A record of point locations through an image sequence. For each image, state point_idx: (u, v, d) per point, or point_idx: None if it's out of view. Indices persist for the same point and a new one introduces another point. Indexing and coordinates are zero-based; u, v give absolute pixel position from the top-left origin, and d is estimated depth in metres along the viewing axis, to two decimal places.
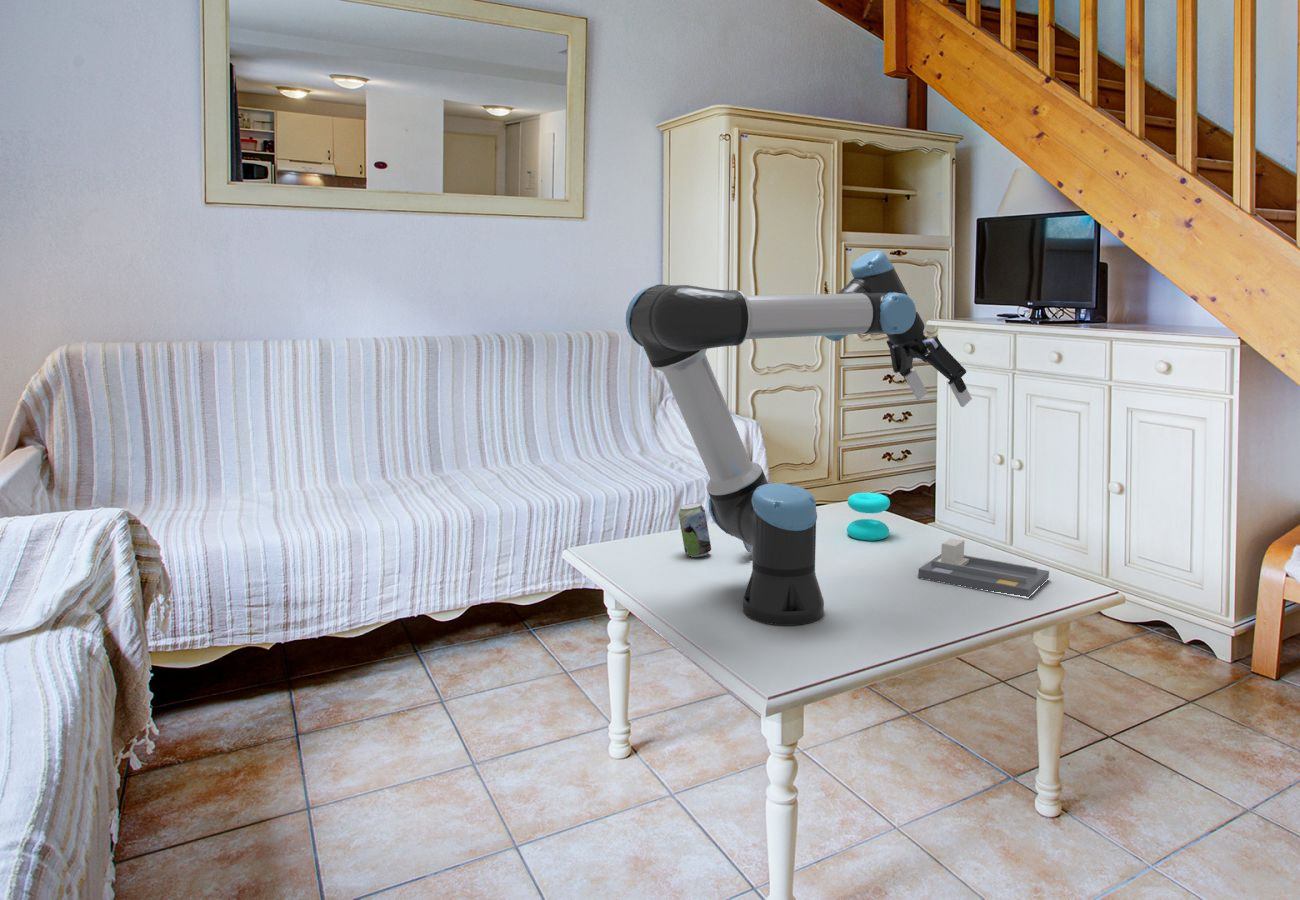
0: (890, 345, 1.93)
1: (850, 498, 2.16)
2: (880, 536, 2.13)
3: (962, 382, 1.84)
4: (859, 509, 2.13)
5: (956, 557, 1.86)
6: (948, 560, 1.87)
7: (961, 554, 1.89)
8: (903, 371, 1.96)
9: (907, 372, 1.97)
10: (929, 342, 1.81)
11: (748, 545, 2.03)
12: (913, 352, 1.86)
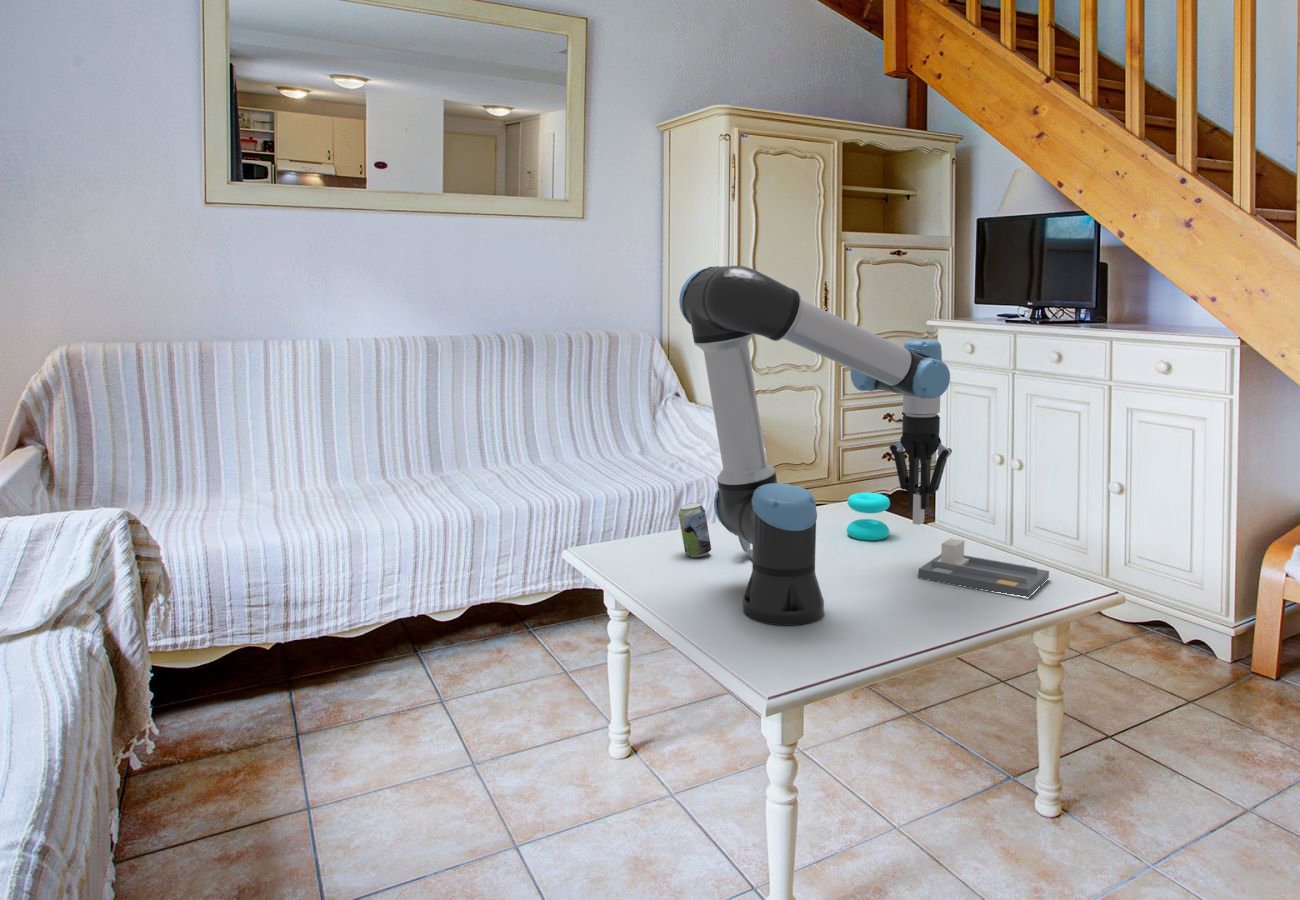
0: (894, 450, 1.92)
1: (850, 498, 2.16)
2: (880, 536, 2.13)
3: (928, 499, 1.91)
4: (859, 509, 2.13)
5: (956, 557, 1.86)
6: (948, 560, 1.87)
7: (961, 554, 1.89)
8: (912, 485, 1.91)
9: (915, 491, 1.92)
10: (948, 451, 1.85)
11: (745, 545, 2.03)
12: (922, 448, 1.87)
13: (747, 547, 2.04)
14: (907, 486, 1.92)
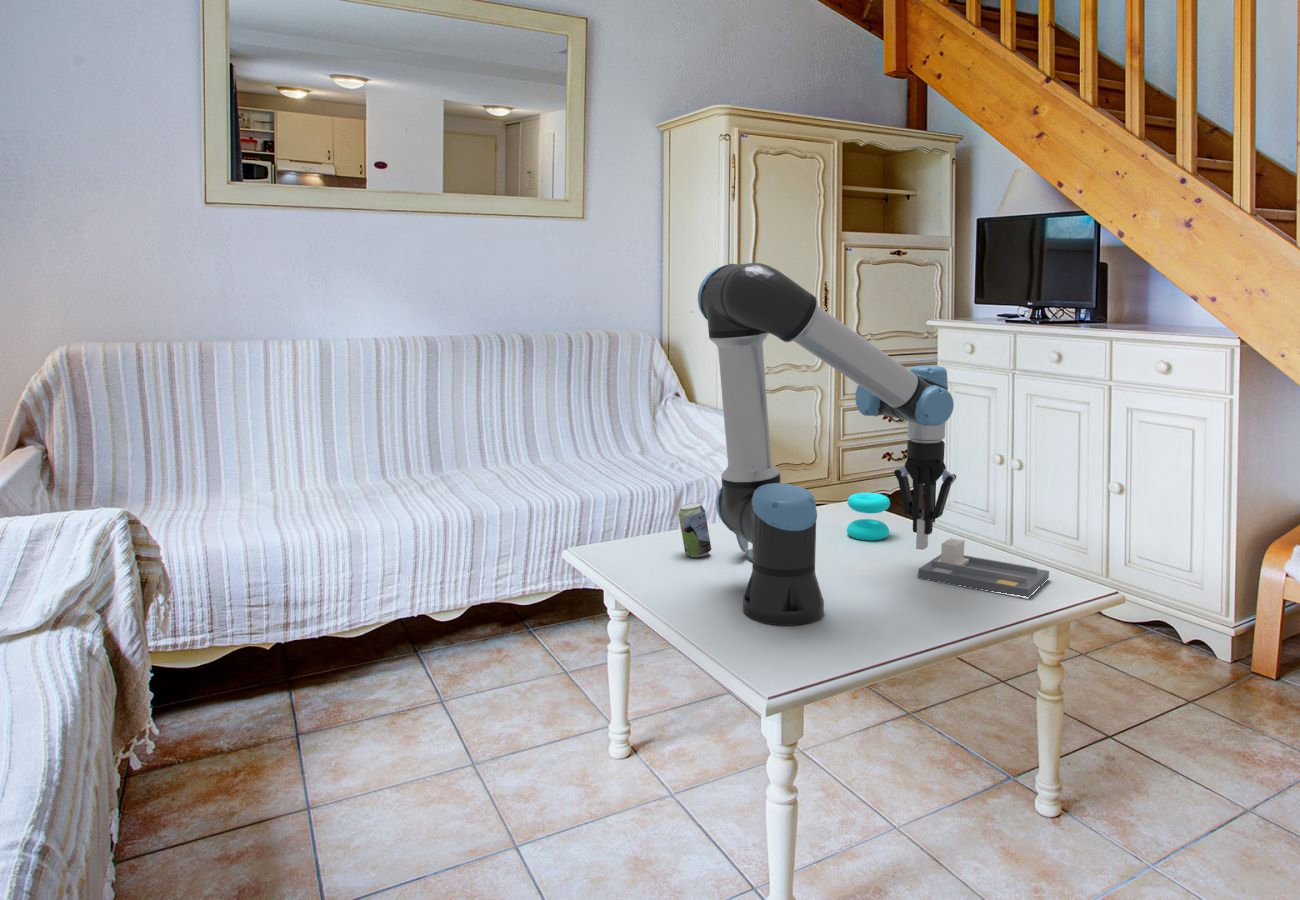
0: (899, 474, 1.92)
1: (850, 498, 2.16)
2: (880, 536, 2.13)
3: (932, 525, 1.91)
4: (859, 509, 2.13)
5: (956, 557, 1.86)
6: (948, 560, 1.87)
7: (961, 554, 1.89)
8: (916, 510, 1.91)
9: (919, 516, 1.92)
10: (952, 477, 1.86)
11: (743, 545, 2.03)
12: (927, 474, 1.88)
13: (745, 547, 2.04)
14: (911, 511, 1.92)
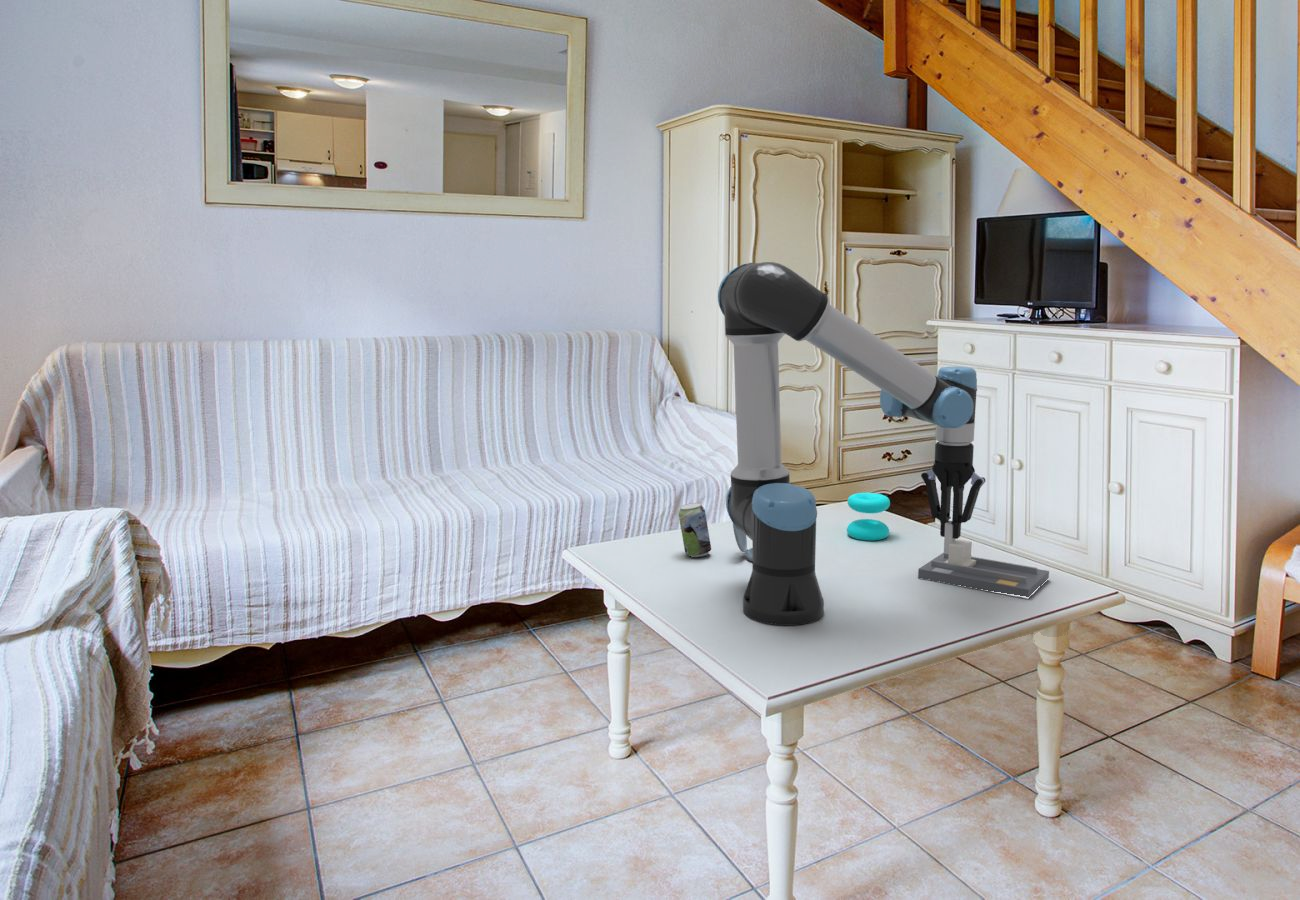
0: (926, 477, 1.89)
1: (850, 498, 2.16)
2: (880, 536, 2.13)
3: (960, 529, 1.87)
4: (859, 509, 2.13)
5: (963, 558, 1.85)
6: (955, 561, 1.86)
7: (969, 555, 1.88)
8: (944, 513, 1.87)
9: (947, 520, 1.88)
10: (982, 481, 1.82)
11: (741, 545, 2.03)
12: (955, 477, 1.84)
13: (744, 547, 2.04)
14: (938, 515, 1.89)
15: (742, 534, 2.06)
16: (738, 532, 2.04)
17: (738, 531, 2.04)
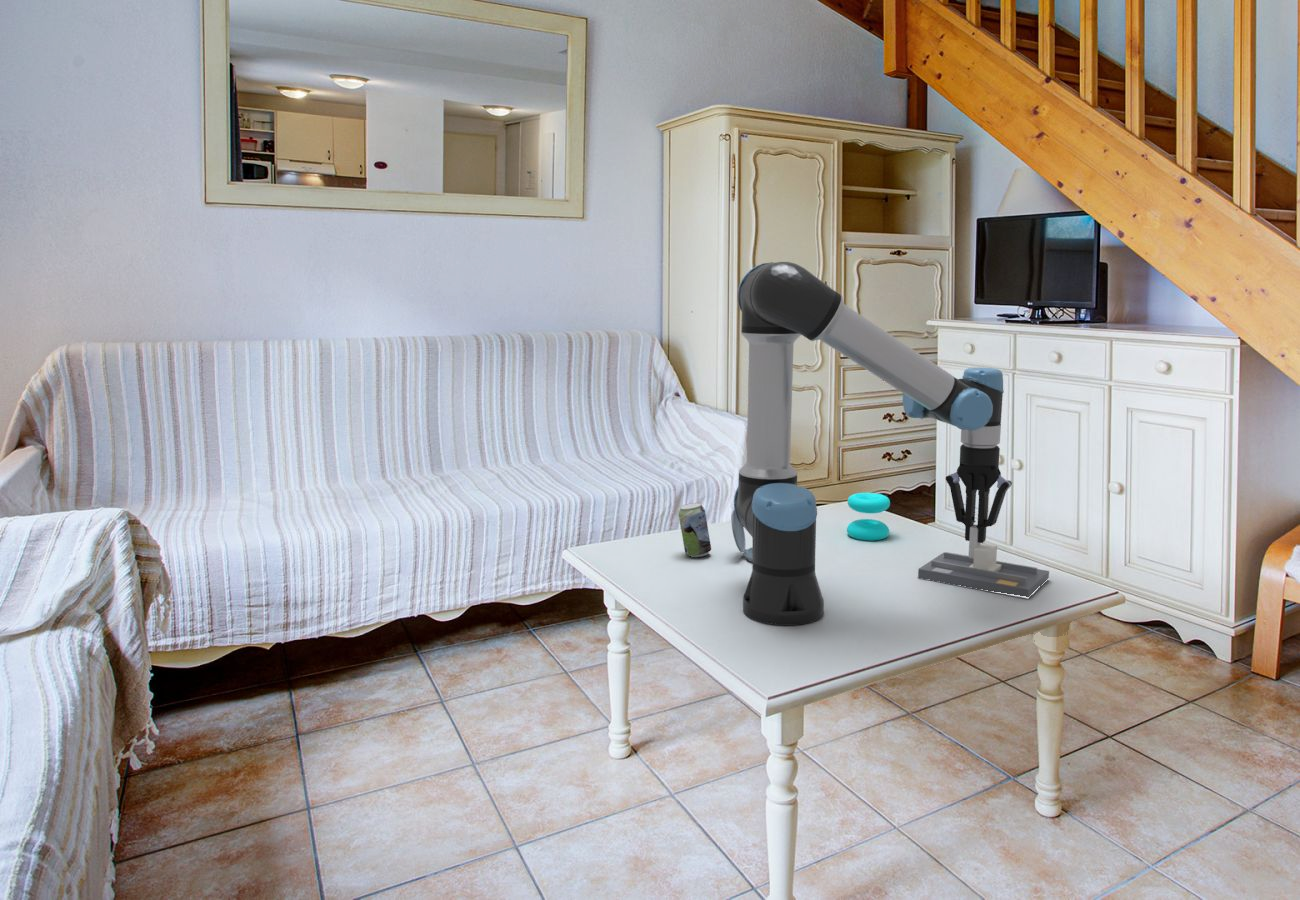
0: (950, 480, 1.85)
1: (850, 498, 2.16)
2: (880, 536, 2.13)
3: (985, 533, 1.84)
4: (859, 509, 2.13)
5: (989, 563, 1.82)
6: (981, 566, 1.83)
7: (994, 559, 1.85)
8: (969, 517, 1.84)
9: (972, 524, 1.85)
10: (1008, 484, 1.79)
11: (740, 545, 2.03)
12: (981, 480, 1.81)
13: (742, 547, 2.04)
14: (963, 518, 1.85)
15: (741, 534, 2.06)
16: (737, 532, 2.04)
17: (737, 531, 2.04)
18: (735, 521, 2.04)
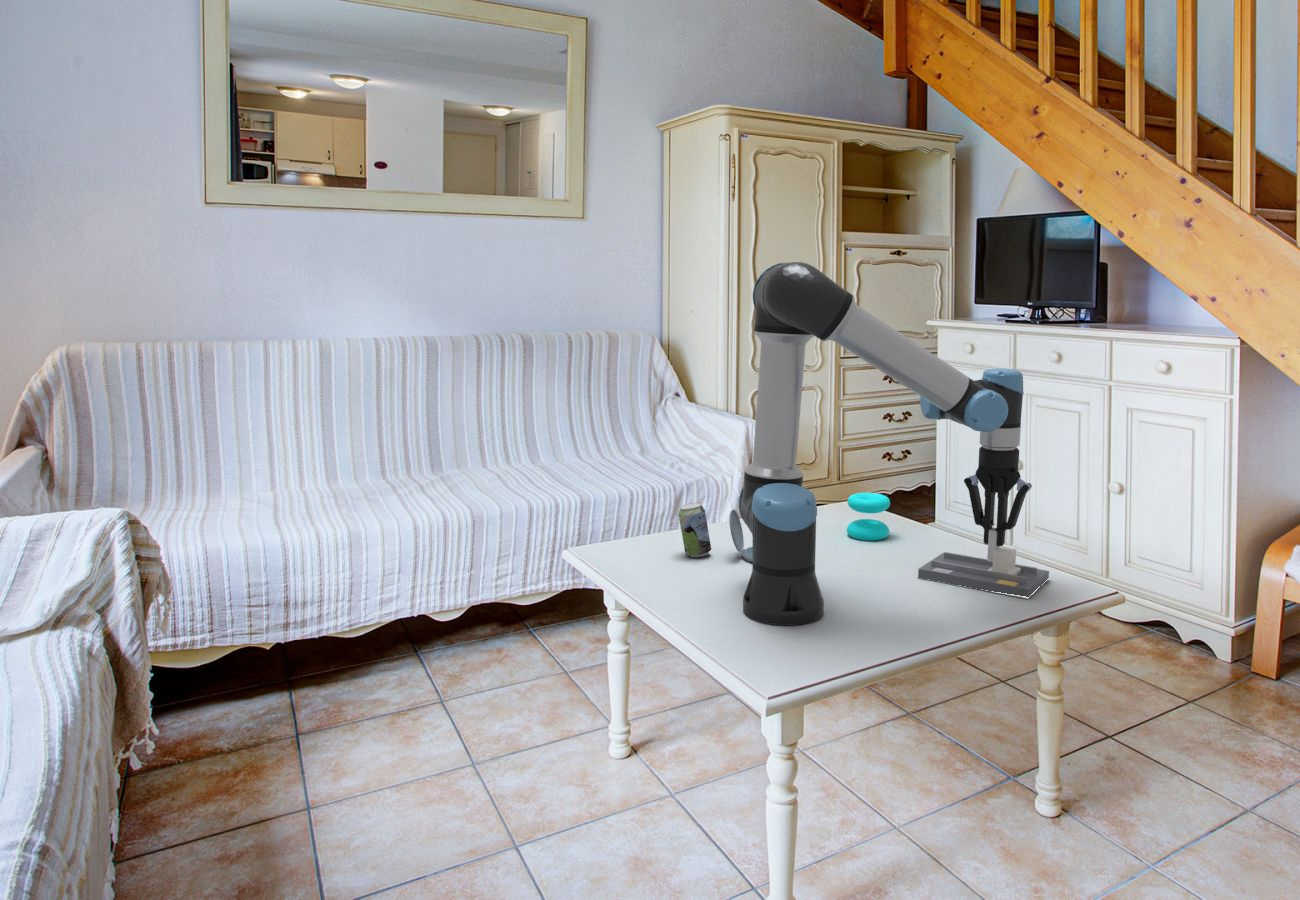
0: (969, 483, 1.83)
1: (850, 498, 2.16)
2: (880, 536, 2.13)
3: (1004, 536, 1.82)
4: (859, 509, 2.13)
5: (1008, 566, 1.80)
6: (1000, 569, 1.81)
7: (1013, 563, 1.83)
8: (988, 520, 1.82)
9: (991, 527, 1.83)
10: (1028, 487, 1.76)
11: (738, 544, 2.03)
12: (1000, 483, 1.78)
13: (740, 547, 2.04)
14: (982, 521, 1.83)
15: (739, 534, 2.06)
16: (735, 532, 2.04)
17: (735, 531, 2.04)
18: (733, 521, 2.04)
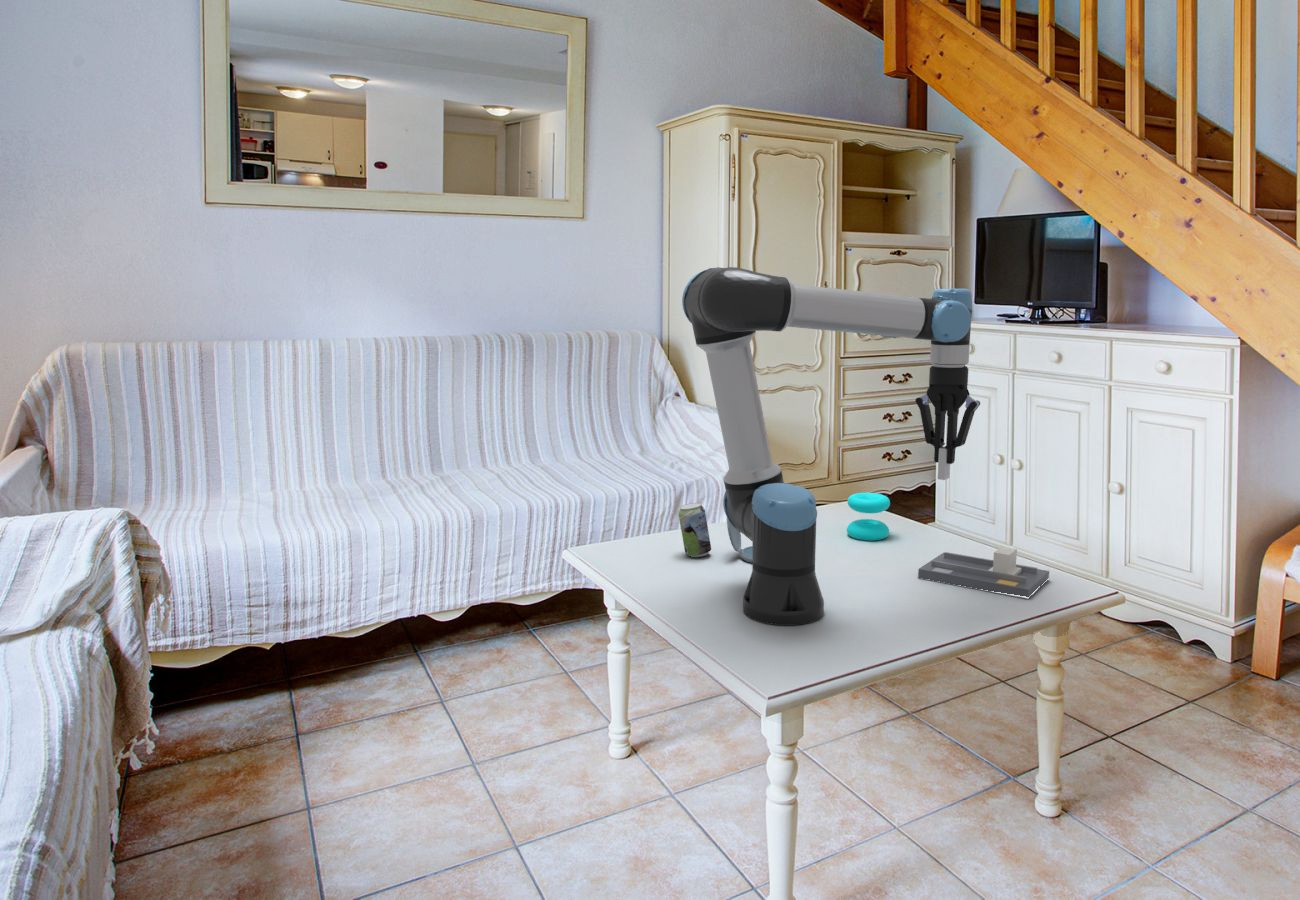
0: (920, 402, 1.87)
1: (850, 498, 2.16)
2: (880, 536, 2.13)
3: (954, 454, 1.85)
4: (859, 509, 2.13)
5: (1009, 566, 1.80)
6: (1001, 569, 1.80)
7: (1014, 563, 1.82)
8: (938, 438, 1.85)
9: (941, 446, 1.86)
10: (976, 403, 1.80)
11: (736, 544, 2.03)
12: (949, 400, 1.82)
13: (738, 546, 2.04)
14: (933, 440, 1.87)
15: (737, 534, 2.06)
16: (732, 532, 2.04)
17: (732, 531, 2.04)
18: None
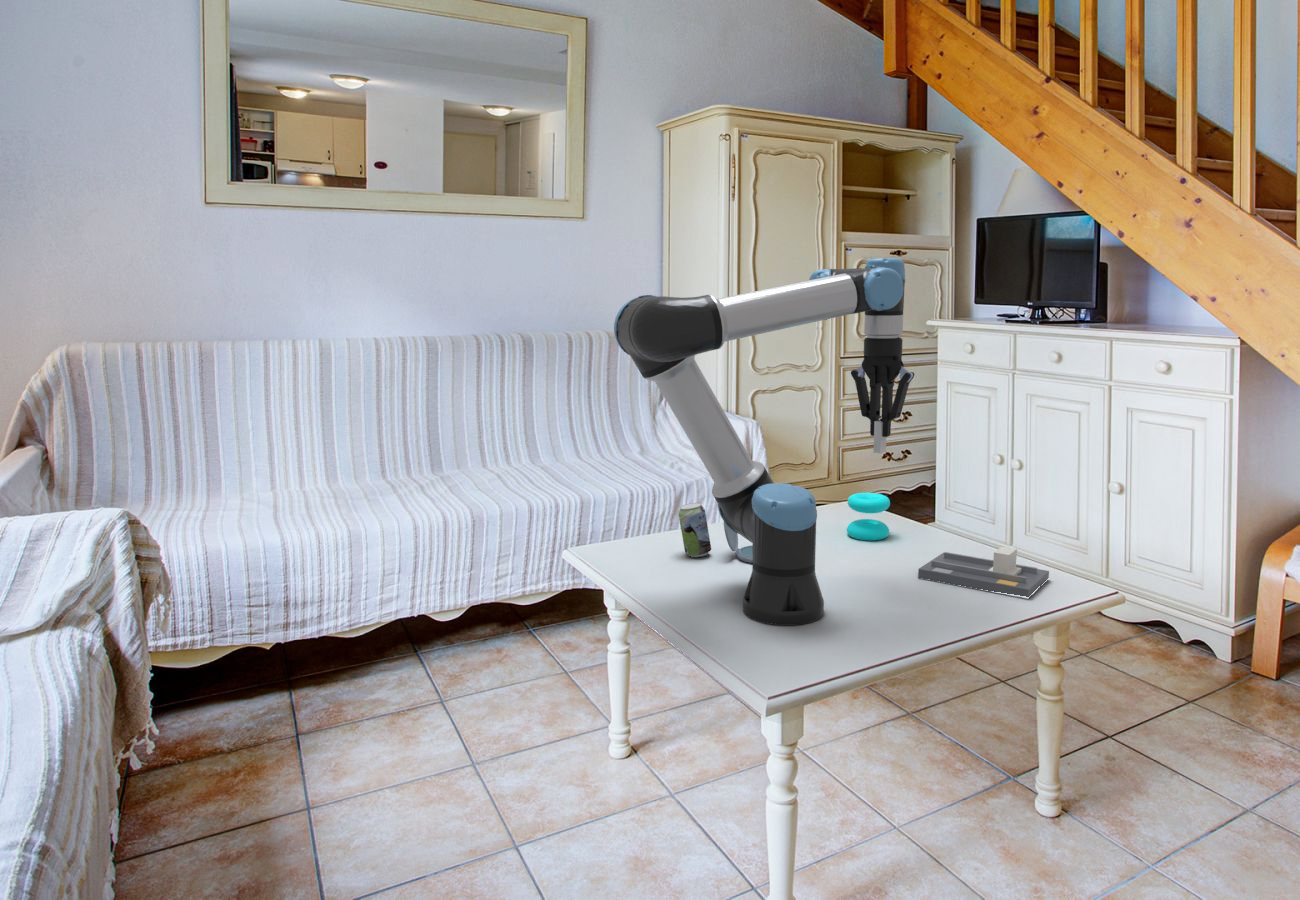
0: (855, 375, 1.84)
1: (850, 498, 2.16)
2: (880, 536, 2.13)
3: (890, 427, 1.83)
4: (859, 509, 2.13)
5: (1009, 566, 1.80)
6: (1001, 569, 1.80)
7: (1014, 563, 1.82)
8: (873, 411, 1.83)
9: (877, 418, 1.84)
10: (910, 374, 1.77)
11: (732, 544, 2.04)
12: (883, 372, 1.79)
13: (735, 546, 2.04)
14: (868, 413, 1.84)
15: (733, 533, 2.06)
16: (729, 531, 2.04)
17: (729, 530, 2.04)
18: None
